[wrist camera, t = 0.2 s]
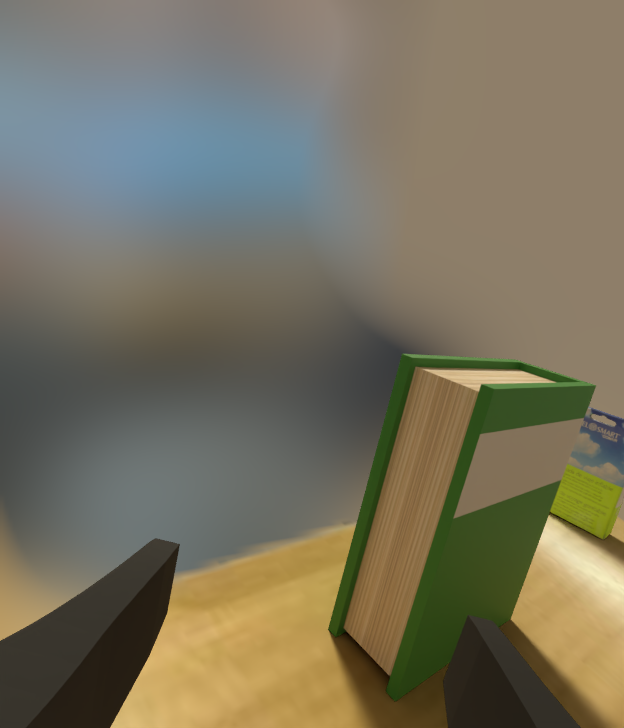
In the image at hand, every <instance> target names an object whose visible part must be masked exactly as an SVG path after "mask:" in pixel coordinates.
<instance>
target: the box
mask: <svg viewBox="0 0 624 728" xmlns="http://www.w3.org/2000/svg"><path fill="white" fill-rule="evenodd" d="M592 414H596V415H599V416H605V417H607V418H608V419H610V420H612V421H614V422H616V426H611V425H608V424H605V423H603V422H600V421H597V420H594V419H592V418H591V415H592ZM623 500H624V419H622V418H619V417H616V416H613V415H610V414H607V413H604V412H602V411H599V410H596V409H593V408H590V407H588V409H587V412H586V414H585V417H584V420H583V423H582V425H581V428H580V431H579V434H578V436H577V439H576V442H575V444H574V447H573V450H572V453H571V455H570V458H569V461H568V464H567V466H566V469H565V472H564V474H563V477H562V480H561V483H560V485H559V488H558V491H557V493H556V496H555V499H554V502H553V504H552V507H551V510H550V512H551V513H553V514H555V515H557V516H559V517H561V518H563V519H565V520H566V521H568V522H570V523H572V524H574V525H576V526H578V527H580V528H582V529H584V530H586V531H588V532H590V533H592V534H594V535H595V536H597V537H598V538H600V539H603V540H604V539H605V538H606V537H607V536H608V535H609V534H610V533H611V531H612V529H613V526H614V523H615V521H616V518H617V515H618V513H619V510H620V508H621V505H622V503H623Z"/></svg>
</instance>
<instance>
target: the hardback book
mask: <svg viewBox="0 0 624 728" xmlns="http://www.w3.org/2000/svg"><path fill="white" fill-rule="evenodd" d="M595 387H596V385H593V384H590V383H587V382H583V381H580V380H577V379H574V378H571V377H568V376H565V375H562V374H559V373H556V372H552V371H549V370H546V369H543V368H540V367H537V366H534V365H531V364H527V363H524V362H521V361H518V360H512V359H492V358H473V357H452V356H432V355H414V354H402V356H401V360H400V364H399V368H398V372H397V375H396V379H395V383H394V386H393V390H392V394H391V397H390V401H389V405H388V409H387V412H386V417H385V420H384V424H383V427H382V431H381V435H380V439H379V442H378V446H377V450H376V453H375V457H374V461H373V465H372V468H371V472H370V476H369V480H368V483H367V487H366V491H365V494H364V498H363V502H362V506H361V509H360V513H359V517H358V520H357V524H356V528H355V532H354V535H353V539H352V543H351V547H350V550H349V554H348V558H347V561H346V565H345V569H344V573H343V576H342V580H341V584H340V587H339V591H338V595H337V599H336V602H335V606H334V610H333V614H332V617H331V621H330V625H329V628H328V630H329V631H330V632H331V633H332V634H333V635H334V636H335V637H337V636H339V635H341V634H343V633H345V632H348V633H349V634H350V635H351V636H352V637H353V638H354V639H355V641H356V642H357V643H358V644H359V645H360V646H361V647H362V648H363V649H364V650H365V651H366V652H367V653H368V654H369V655H370V656H371V657H372V658H373V659H374V660H375V661H376V662H377V663H378V665H379V666H380V667H381V668H382V669H383V670H384V671H385V672H386V673H387V674H388V675H389V676H390V679H389V682H388V686H387V689H386V692H387V694H388V695H389V696H390V697H391V698H392V699H393V700H394V701H395V702H396V701H397V700H398V699H400V698H401V697H402V696H404V695H405V694H407V693H408V692H409V691H411V690H412V689H414V688H415V687H416V686H418V685H419V684H421V683H422V682H423V681H425V680H426V679H428V678H429V677H430V676H432V675H433V674H435V673H436V672H437V671H439V670H440V669H441V668H443V667H444V666H446V665H447V664H448V663H450V662H451V659H452V656H453V653H454V651H455V648H456V645H457V643H458V640H459V637H460V635H461V632H462V629H463V627H464V624H465V621H466V618H467V616H468V615H471V616H475V617H479V618H483V619H487V620H491V621H493V622H494V623H495V624H496V625H497V627H498V628H499V627H500V626H501V625H503V624H504V623H506V622H507V621H508V620H510V619H511V616H512V613H513V611H514V608H515V605H516V602H517V600H518V597H519V594H520V592H521V589H522V586H523V583H524V581H525V578H526V575H527V572H528V570H529V567H530V564H531V562H532V559H533V556H534V553H535V551H536V548H537V545H538V543H539V540H540V537H541V534H542V532H543V529H544V526H545V523H546V521H547V518H548V515H549V513H550V510H551V507H552V504H553V502H554V499H555V496H556V493H557V491H558V488H559V485H560V483H561V480H562V477H563V474H564V472H565V469H566V466H567V464H568V461H569V458H570V455H571V453H572V450H573V447H574V444H575V442H576V439H577V436H578V434H579V431H580V428H581V425H582V423H583V420H584V417H585V414H586V412H587V409H588V406H589V404H590V401H591V398H592V395H593V393H594V390H595Z"/></svg>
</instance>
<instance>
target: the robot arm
mask: <svg viewBox="0 0 624 728" xmlns="http://www.w3.org/2000/svg"><path fill="white" fill-rule="evenodd" d="M179 546H180V544H177V543H173V542H169V541H164V540H160V539H154V540H152V541H150V542H149V543H148V544H146V545H145V546H144V547H143V548H141V549H140V550H139V551H138V552H136V553H135V554H134V555H133V556H131V557H130V558H129V559H127V560H126V561H125V562H123V563H122V564H121V565H119V566H118V567H117V568H116V569H114V570H113V571H111V572H110V573H109V574H107V575H106V576H105V577H104V578H102V579H100V580H99V581H97V582H96V583H95V584H93V585H92V586H90V587H89V588H88V589H86V590H85V591H84V592H82V593H80V594H79V595H77V596H76V597H74V598H72V599H71V600H69V601H68V602H66V603H65V604H63V605H62V606H60V607H59V608H57V609H56V610H54V611H53V612H51V613H49V614H47V615H46V616H44V617H42V618H41V619H39V620H38V621H36V622H34V623H33V624H31V625H29V626H27V627H25V628H23V629H21V630H20V631H18V632H16V633H14V634H12V635H11V636H9V637H7V638H5V639H3V640H1V641H0V728H110V727H111V725H112V723H113V721H114V720H115V718H116V716H117V714H118V712H119V710H120V709H121V707H122V705H123V703H124V701H125V699H126V698H127V696H128V694H129V692H130V690H131V689H132V687H133V685H134V683H135V681H136V679H137V677H138V676H139V674H140V672H141V670H142V668H143V666H144V665H145V663H146V661H147V659H148V657H149V655H150V653H151V650H152V648H153V646H154V643H155V641H156V639H157V636H158V634H159V632H160V629H161V627H162V624H163V622H164V619H165V617H166V615H167V611H168V605H169V600H170V594H171V589H172V584H173V578H174V573H175V567H176V562H177V556H178V551H179ZM443 684H444V694H445V704H446V713H447V721H448V728H581V727H580V726H579V725H578V724H577V723H576V722H575V720H574V719H573V718H572V717H571V716H570V715H569V713H568V712H567V711H566V710H565V709H564V708H563V706H562V705H561V704H560V703H559V702H558V700H557V699H556V698H555V697H554V696H553V694H552V693H551V692H550V691H549V690H548V688H547V687H546V686H545V685H544V683H543V682H542V681H541V680H540V678H539V677H538V676H537V675H536V674H535V672H534V671H533V670H532V669H531V667H530V666H529V665H528V664H527V662H526V661H525V660H524V659H523V657H522V656H521V655H520V654H519V652H518V651H517V650H516V649H515V647H514V646H513V645H512V644H511V642H510V641H509V640H508V639H507V637H506V636H505V635H504V634H503V632H502V631H501V630H500V629H499V628H498V627H497V625H496V624H495V623H494V622H493V621H491V620H487V619H483V618H479V617H475V616H471V615H468V616H467V618H466V621H465V624H464V627H463V629H462V632H461V635H460V637H459V640H458V643H457V645H456V648H455V651H454V653H453V656H452V659H451V662H450V664H449V667H448V670H447V672H446V675H445V678H444V680H443Z"/></svg>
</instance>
